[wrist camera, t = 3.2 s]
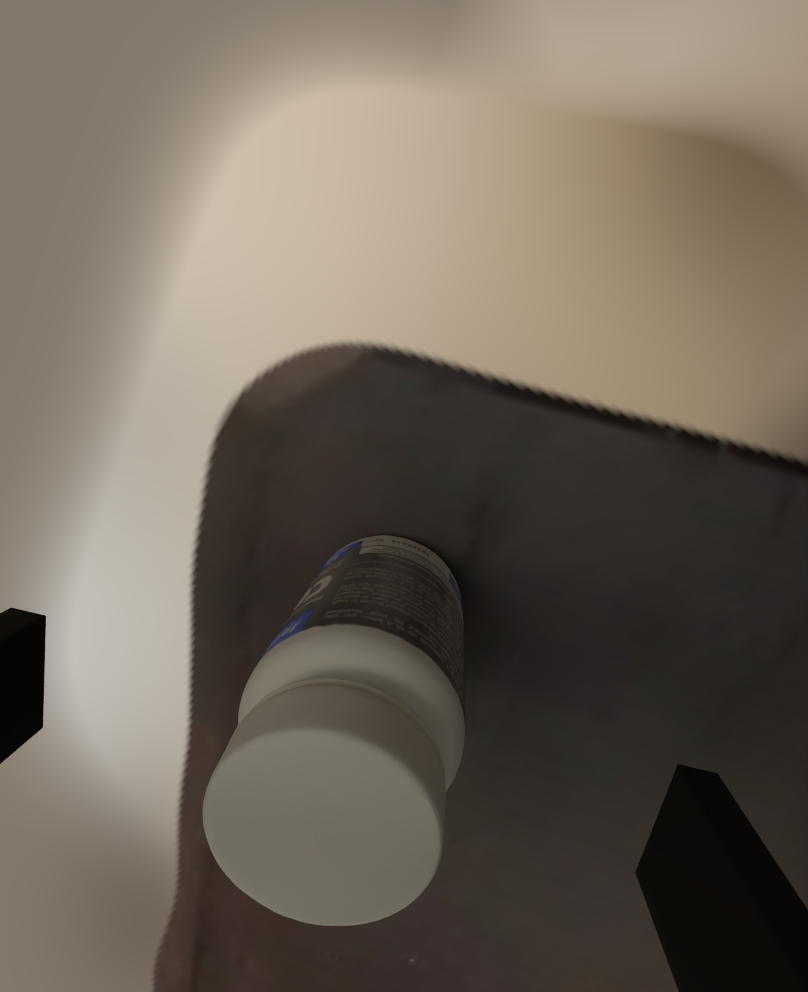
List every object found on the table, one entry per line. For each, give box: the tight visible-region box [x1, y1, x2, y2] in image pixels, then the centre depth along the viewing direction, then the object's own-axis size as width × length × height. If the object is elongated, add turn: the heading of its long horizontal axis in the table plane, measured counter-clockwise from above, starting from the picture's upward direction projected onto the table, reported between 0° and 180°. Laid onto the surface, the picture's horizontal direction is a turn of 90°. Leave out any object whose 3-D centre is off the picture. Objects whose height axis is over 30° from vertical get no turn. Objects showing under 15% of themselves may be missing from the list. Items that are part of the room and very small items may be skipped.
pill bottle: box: [203, 535, 466, 926], centre depth 12 cm, size 5×5×8 cm
